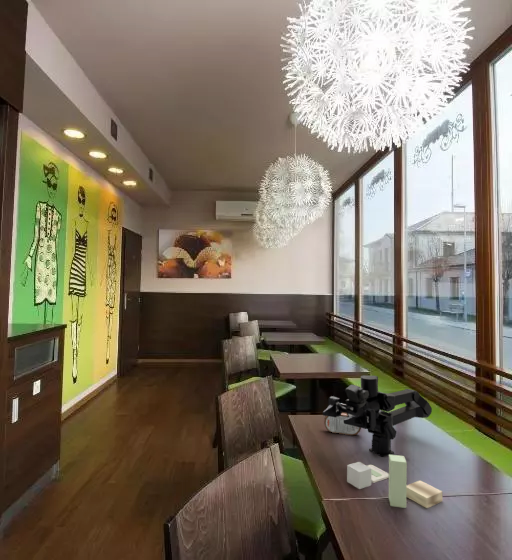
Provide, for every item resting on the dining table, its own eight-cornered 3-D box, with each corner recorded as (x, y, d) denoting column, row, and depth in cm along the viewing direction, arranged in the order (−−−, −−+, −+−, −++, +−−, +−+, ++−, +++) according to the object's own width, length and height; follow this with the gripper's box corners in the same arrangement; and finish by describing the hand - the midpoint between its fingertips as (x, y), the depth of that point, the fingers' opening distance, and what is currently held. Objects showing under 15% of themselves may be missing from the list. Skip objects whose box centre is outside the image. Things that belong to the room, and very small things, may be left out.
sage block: (388, 497, 101) (388, 454, 102) (403, 500, 101) (403, 456, 101) (390, 505, 98) (390, 460, 98) (406, 508, 97) (406, 462, 97)
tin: (361, 434, 148) (361, 413, 149) (361, 437, 145) (361, 416, 146) (324, 430, 152) (324, 409, 153) (323, 432, 149) (323, 412, 150)
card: (371, 466, 120) (371, 463, 120) (391, 476, 113) (391, 474, 113) (353, 471, 116) (353, 469, 116) (373, 483, 109) (373, 480, 109)
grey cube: (358, 477, 112) (358, 461, 113) (371, 485, 108) (371, 468, 108) (347, 481, 110) (347, 465, 110) (359, 489, 106) (359, 472, 106)
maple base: (419, 490, 106) (419, 480, 107) (442, 502, 100) (442, 491, 101) (404, 496, 103) (404, 486, 103) (426, 509, 97) (426, 498, 97)
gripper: (343, 379, 135) (312, 386, 126) (386, 390, 119) (355, 400, 110) (344, 409, 134) (313, 418, 126) (387, 424, 119) (356, 436, 110)
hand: (333, 417), depth 118 cm, fingers open, 9 cm apart
